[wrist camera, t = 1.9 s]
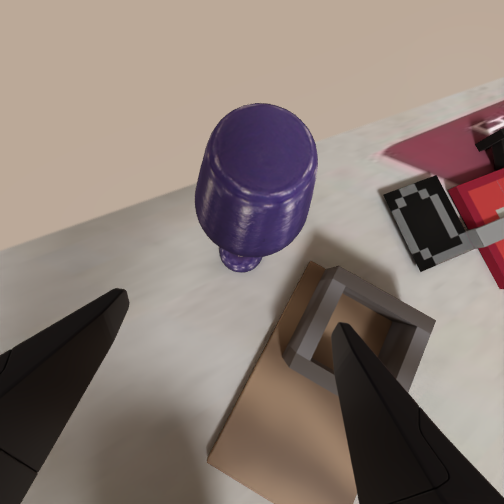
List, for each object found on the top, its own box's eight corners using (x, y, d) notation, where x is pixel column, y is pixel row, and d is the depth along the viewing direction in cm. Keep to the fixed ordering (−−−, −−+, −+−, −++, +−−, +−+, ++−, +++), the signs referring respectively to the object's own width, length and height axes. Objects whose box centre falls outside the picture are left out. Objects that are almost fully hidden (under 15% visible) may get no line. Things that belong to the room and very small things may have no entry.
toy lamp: (270, 233, 23) (352, 79, 6) (265, 279, 22) (346, 244, 5) (222, 227, 22) (177, 54, 6) (216, 274, 22) (144, 220, 5)
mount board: (334, 534, 19) (356, 591, 15) (207, 457, 19) (200, 494, 15) (418, 323, 22) (453, 329, 18) (309, 261, 22) (322, 256, 19)
